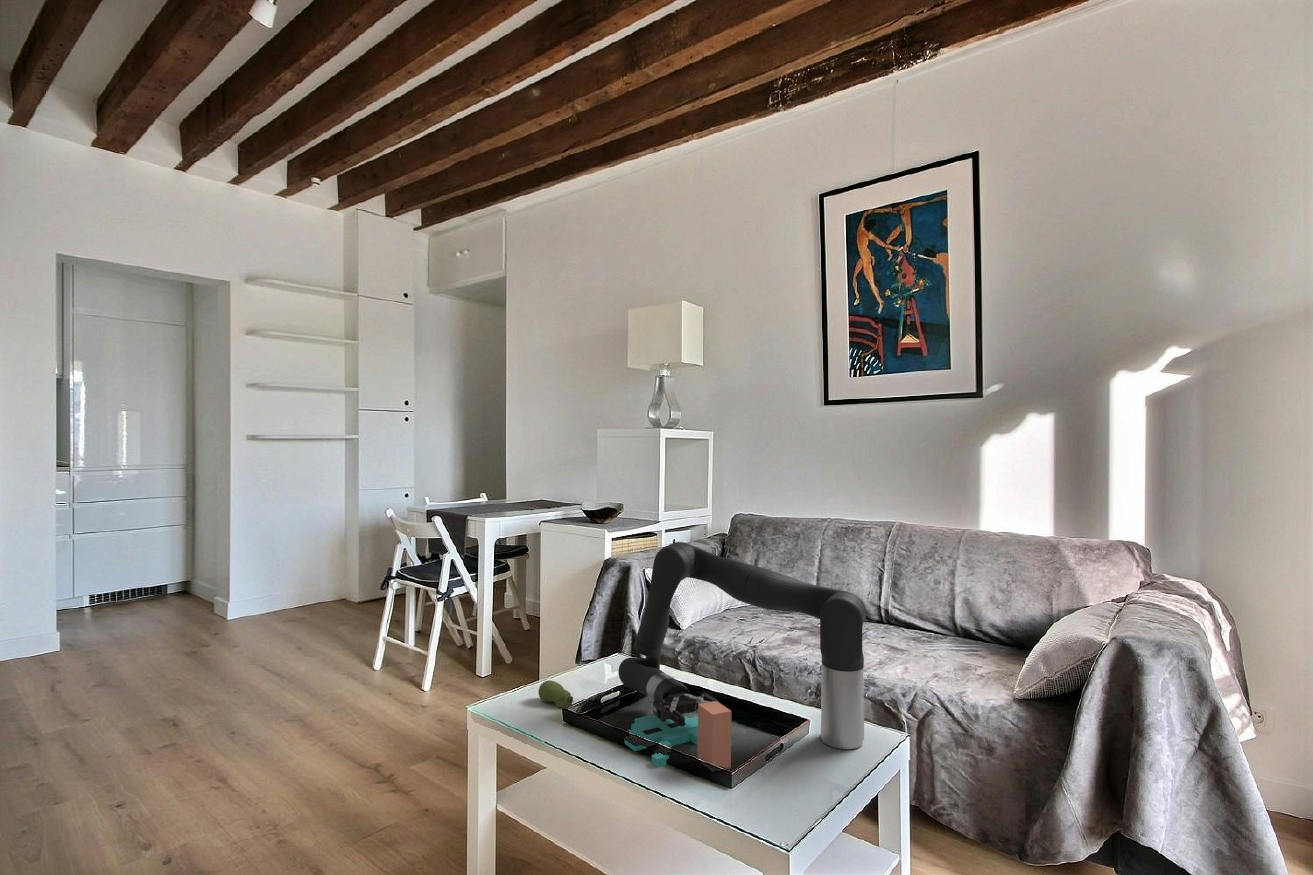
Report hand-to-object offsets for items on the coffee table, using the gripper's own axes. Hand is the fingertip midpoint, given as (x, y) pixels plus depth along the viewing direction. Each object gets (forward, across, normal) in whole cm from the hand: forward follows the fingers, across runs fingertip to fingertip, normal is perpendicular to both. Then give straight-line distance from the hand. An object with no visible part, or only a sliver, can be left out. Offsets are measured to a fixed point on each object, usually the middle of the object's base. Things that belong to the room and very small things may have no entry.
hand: (700, 718), depth 151 cm
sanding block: (+6, 0, +8) cm, 9 cm away
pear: (-40, -20, +8) cm, 45 cm away
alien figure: (-9, -3, +8) cm, 13 cm away
